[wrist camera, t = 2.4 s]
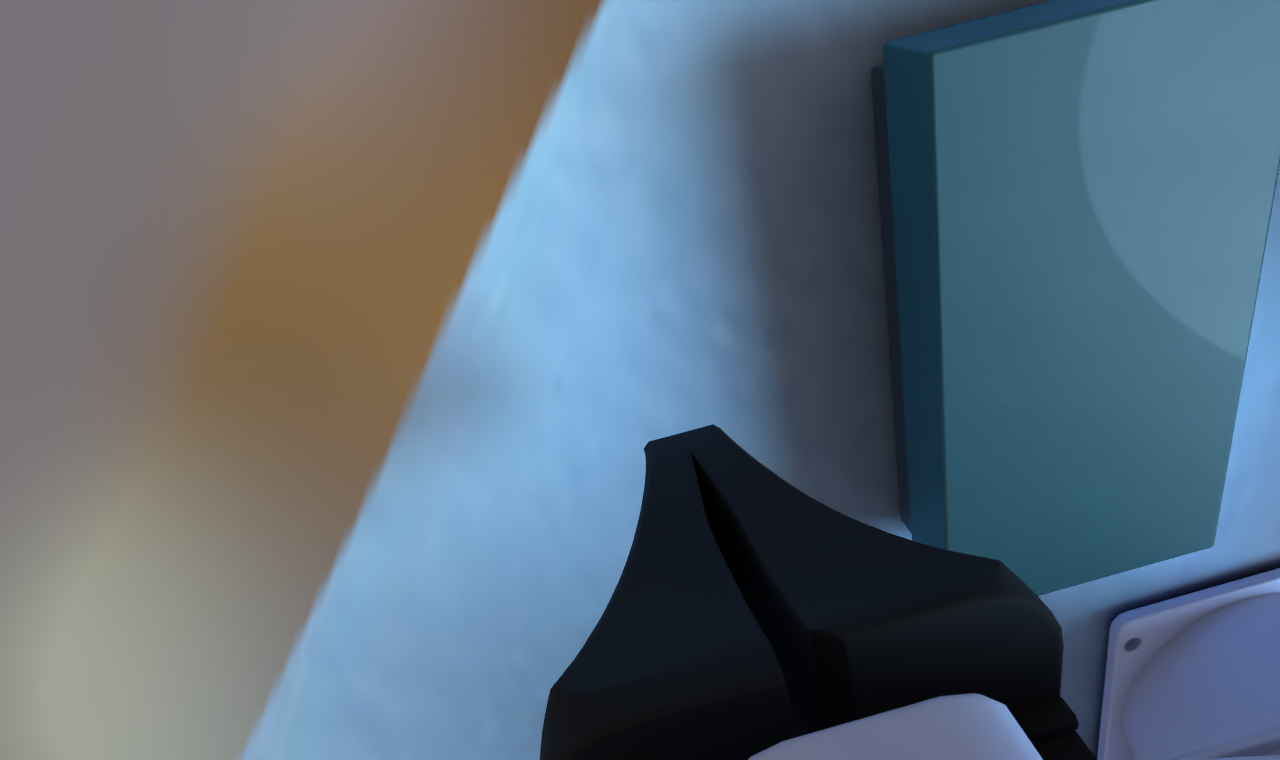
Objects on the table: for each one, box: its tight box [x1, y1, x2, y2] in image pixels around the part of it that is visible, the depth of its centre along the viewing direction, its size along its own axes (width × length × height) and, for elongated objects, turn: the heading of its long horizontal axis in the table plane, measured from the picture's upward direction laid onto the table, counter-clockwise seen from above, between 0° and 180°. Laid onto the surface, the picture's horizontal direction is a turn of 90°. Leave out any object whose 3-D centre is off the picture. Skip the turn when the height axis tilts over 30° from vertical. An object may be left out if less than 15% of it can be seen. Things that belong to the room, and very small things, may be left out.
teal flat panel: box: [871, 0, 1280, 596], centre depth 17 cm, size 12×6×3 cm, turn 12°
